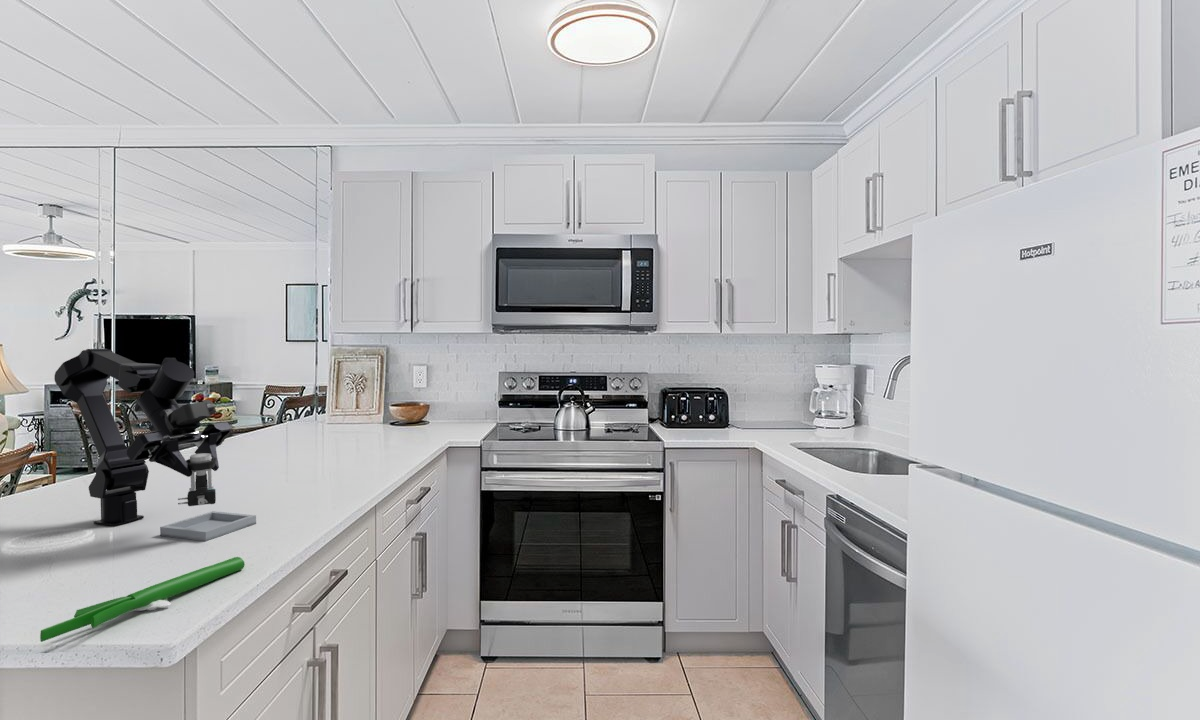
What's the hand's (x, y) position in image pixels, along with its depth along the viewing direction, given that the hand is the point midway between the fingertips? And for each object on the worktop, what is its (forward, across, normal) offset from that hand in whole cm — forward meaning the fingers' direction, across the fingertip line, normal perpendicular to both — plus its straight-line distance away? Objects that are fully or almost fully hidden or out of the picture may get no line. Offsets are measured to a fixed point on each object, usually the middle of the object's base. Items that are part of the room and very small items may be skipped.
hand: (204, 472), depth 122 cm
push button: (+4, 0, +6) cm, 7 cm away
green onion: (+26, -26, -8) cm, 37 cm away
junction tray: (+7, +4, +12) cm, 14 cm away
